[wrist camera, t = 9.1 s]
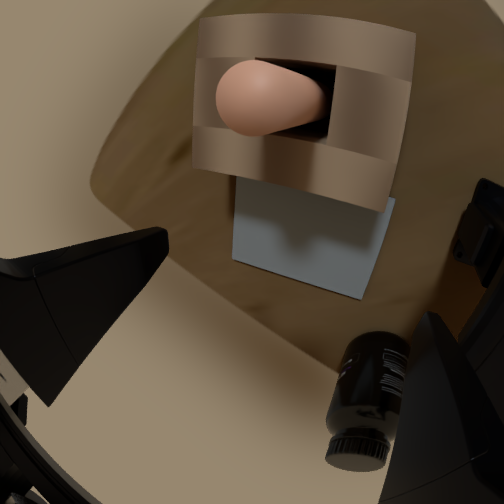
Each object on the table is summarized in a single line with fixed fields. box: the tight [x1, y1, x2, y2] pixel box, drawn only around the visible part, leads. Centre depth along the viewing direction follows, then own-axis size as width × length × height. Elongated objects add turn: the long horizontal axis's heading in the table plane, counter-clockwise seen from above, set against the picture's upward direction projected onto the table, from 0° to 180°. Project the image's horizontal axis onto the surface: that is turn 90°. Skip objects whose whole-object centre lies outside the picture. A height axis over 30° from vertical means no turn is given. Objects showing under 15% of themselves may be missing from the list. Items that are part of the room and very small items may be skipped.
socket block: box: [192, 13, 416, 213], centre depth 15 cm, size 12×10×5 cm
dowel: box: [216, 60, 333, 137], centre depth 13 cm, size 3×3×10 cm
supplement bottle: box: [325, 331, 410, 472], centre depth 20 cm, size 7×7×12 cm
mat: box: [232, 176, 395, 300], centre depth 22 cm, size 12×9×1 cm
